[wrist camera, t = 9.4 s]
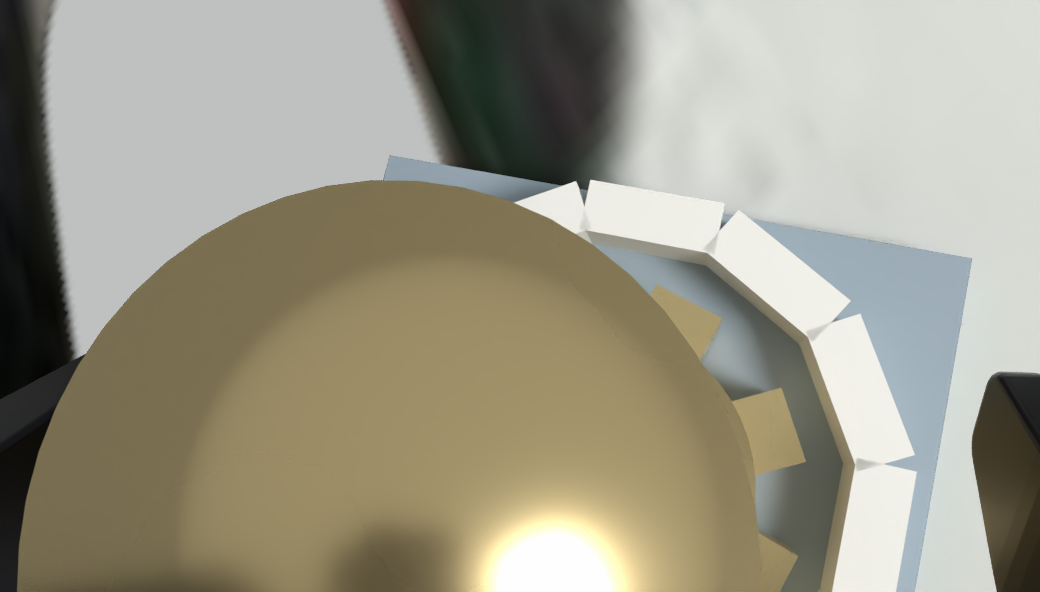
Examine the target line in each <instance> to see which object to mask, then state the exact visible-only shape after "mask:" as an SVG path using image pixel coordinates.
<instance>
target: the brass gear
mask: <svg viewBox="0 0 1040 592" xmlns="http://www.w3.org/2000/svg"><path fill="white" fill-rule="evenodd" d="M721 321H722V318H721V317H719V316H717V315H715V314H713V313H711V312H709V311H707V310H705V309H703V308H701V307H699V306H698V305H696V304H694V303H692V302H690V301H688V300H686V299H684V298H682V297H680V296H678V295H676V294H674V293H672V292H671V291H669V290H667V289H665V288H663V287H661V286H659V285H656V286H655V288H654V290H653V292H652V293H651V295H649V294H648V293H647V292H646V291H645V290H644V289H643V288H642V287H641V285H640V284H639V283H638V282H637V281H636V280H635V279H634V278H633V277H632V276H631V275H630V274H629V273H627V272H626V271H625V270H624V269H622V268H621V267H620V266H619V265H617V264H616V263H615V262H614V261H613V260H611V259H610V258H609V257H608V256H606V255H605V254H604V253H603V252H601V251H600V250H599V249H598V248H596V247H595V246H594V245H593V244H591V243H590V242H588V241H586V240H585V239H583V238H581V237H580V236H578V235H576V234H575V233H573V232H571V231H570V230H568V229H566V228H565V227H563V226H561V225H560V224H558V223H556V222H555V221H553V220H552V219H550V218H547V217H545V216H543V215H541V214H538V213H536V212H534V211H531V210H529V209H527V208H524V207H522V206H520V205H517V204H515V203H513V202H511V201H508V200H506V199H502V198H498V197H495V196H491V195H488V194H484V193H481V192H477V191H474V190H470V189H466V188H463V187H457V186H450V185H443V184H436V183H429V182H421V181H372V180H371V181H364V182H355V183H348V184H339V185H331V186H325V187H321V188H318V189H314V190H310V191H306V192H302V193H298V194H295V195H291V196H287V197H284V198H281V199H278V200H276V201H273V202H271V203H268V204H266V205H263V206H261V207H258V208H256V209H253V210H251V211H248V212H246V213H243V214H241V215H239V216H238V217H236V218H234V219H233V220H230V221H229V222H227V223H225V224H223V225H221V226H220V227H218V228H216V229H214V230H212V231H211V232H209V233H207V234H205V235H204V236H202V237H201V238H199V239H198V240H197V241H195V242H194V243H192V244H191V245H190V246H188V247H187V248H186V249H184V250H183V251H182V252H180V253H179V254H177V255H176V256H175V257H173V258H172V259H170V260H169V261H168V262H166V263H165V264H164V265H163V266H162V267H161V268H160V269H159V270H158V271H157V272H155V273H154V274H153V275H152V276H151V277H150V278H149V279H148V280H147V281H146V282H145V283H144V284H142V285H141V286H140V287H139V288H138V289H137V290H136V291H135V292H134V293H133V294H132V295H131V296H130V298H129V299H128V300H127V301H126V302H125V303H124V304H123V306H122V307H121V308H120V309H119V310H118V312H117V313H116V314H115V315H114V316H113V318H111V320H110V321H109V322H108V323H107V324H106V326H105V327H104V328H103V329H102V331H101V332H100V334H99V335H98V337H97V338H96V340H95V341H94V343H93V344H92V346H91V347H90V349H89V350H88V352H87V353H86V355H85V356H84V357H83V359H82V360H81V362H80V363H79V365H78V366H77V368H76V370H75V372H74V374H73V376H72V378H71V380H70V382H69V384H68V386H67V387H66V389H65V391H64V393H63V395H62V397H61V399H60V401H59V403H58V405H57V407H56V409H55V411H54V414H53V417H52V419H51V422H50V424H49V427H48V429H47V432H46V435H45V437H44V440H43V442H42V445H41V447H40V450H39V453H38V457H37V460H36V464H35V468H34V471H33V475H32V479H31V483H30V486H29V490H28V494H27V498H26V504H25V510H24V517H23V523H22V530H21V536H20V543H19V558H18V582H17V592H780V590H781V588H782V586H783V584H784V583H785V581H786V579H787V577H788V575H789V573H790V571H791V569H792V568H793V566H794V564H795V562H796V560H797V558H798V555H797V554H796V553H794V552H793V551H792V550H791V549H790V548H789V547H788V546H787V545H786V544H784V543H783V542H781V541H779V540H778V539H776V538H774V537H772V536H771V535H769V534H767V533H765V532H764V531H762V530H760V529H759V528H758V525H757V516H756V507H755V487H756V479H755V475H758V474H762V473H766V472H770V471H774V470H778V469H781V468H785V467H789V466H793V465H797V464H800V463H804V462H806V460H805V457H804V454H803V451H802V448H801V445H800V442H799V439H798V436H797V433H796V430H795V427H794V424H793V421H792V418H791V415H790V412H789V409H788V406H787V403H786V400H785V397H784V394H783V391H782V388H778V389H775V390H771V391H767V392H764V393H760V394H756V395H753V396H749V397H745V398H742V399H738V400H735V401H731V399H730V397H729V396H728V395H727V393H726V392H725V390H724V389H723V388H722V386H721V385H720V384H719V382H718V381H717V379H716V378H715V377H714V376H713V375H712V374H711V373H710V372H709V371H708V370H707V369H706V368H705V367H704V366H703V365H702V363H701V362H702V361H703V359H704V357H705V355H706V353H707V352H708V350H709V348H710V346H711V344H712V342H713V341H714V339H715V337H716V335H717V333H718V331H719V328H720V324H721Z"/></svg>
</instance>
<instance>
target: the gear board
mask: <svg viewBox="0 0 1040 592" xmlns="http://www.w3.org/2000/svg"><path fill="white" fill-rule="evenodd" d="M383 181H421V182H429V183H436V184H443V185H450V186H457V187H463V188H466V189H470V190H474V191H477V192H481V193H484V194H488V195H491V196H495V197H498V198H502V199H506V200H508V201H511V202H513V203H515V204H517V205H520V206H522V207H524V208H527V209H529V210H531V211H534V212H536V213H538V214H541V215H543V216H545V217H547V218H550V219H552V220H553V221H555V222H556V223H558V224H560V225H561V226H563V227H565V228H566V229H568V230H570V231H571V232H573V233H575V234H576V235H578V236H580V237H581V238H583V239H585V240H586V241H588V242H590V243H591V244H593V245H594V246H595V247H596V248H598V249H599V250H600V251H601V252H603V253H604V254H605V255H606V256H608V257H609V258H610V259H611V260H613V261H614V262H615V263H616V264H617V265H619V266H620V267H621V268H622V269H624V270H625V271H626V272H627V273H629V274H630V275H631V276H632V277H633V278H634V279H635V280H636V281H637V282H638V283H639V284H640V285H641V287H642V288H643V289H644V290H645V291H646V292H647V293H648V294H649V295H651V293H652V292H653V290H654V288H655V286H656V285H659V286H661V287H663V288H665V289H667V290H669V291H671V292H672V293H674V294H676V295H678V296H680V297H682V298H684V299H686V300H688V301H690V302H692V303H694V304H696V305H698V306H699V307H701V308H703V309H705V310H707V311H709V312H711V313H713V314H715V315H717V316H719V317H721V318H722V321H721V324H720V328H719V331H718V333H717V335H716V337H715V339H714V341H713V342H712V344H711V346H710V348H709V350H708V352H707V353H706V355H705V357H704V359H703V361H702V362H701V363H702V365H703V366H704V367H705V368H706V369H707V370H708V371H709V372H710V373H711V374H712V375H713V376H714V377H715V378H716V379H717V381H718V382H719V384H720V385H721V386H722V388H723V389H724V390H725V392H726V393H727V395H728V396H729V397H730V399H731V401H735V400H738V399H742V398H745V397H749V396H753V395H756V394H760V393H764V392H767V391H771V390H775V389H778V388H782V391H783V394H784V397H785V400H786V403H787V406H788V409H789V412H790V415H791V418H792V421H793V424H794V427H795V430H796V433H797V436H798V439H799V442H800V445H801V448H802V451H803V454H804V457H805V460H806V462H804V463H800V464H797V465H793V466H789V467H785V468H781V469H778V470H774V471H770V472H766V473H762V474H758V475H755V479H756V487H755V507H756V516H757V525H758V528H759V529H760V530H762V531H764V532H765V533H767V534H769V535H771V536H772V537H774V538H776V539H778V540H779V541H781V542H783V543H784V544H786V545H787V546H788V547H789V548H790V549H791V550H792V551H793V552H794V553H796V554H797V555H798V558H797V560H796V562H795V564H794V566H793V568H792V569H791V571H790V573H789V575H788V577H787V579H786V581H785V583H784V584H783V586H782V588H781V590H780V592H915V587H916V582H917V576H918V570H919V564H920V558H921V553H922V547H923V541H924V535H925V529H926V524H927V518H928V512H929V506H930V500H931V495H932V489H933V483H934V477H935V471H936V466H937V460H938V454H939V448H940V442H941V437H942V431H943V425H944V419H945V413H946V408H947V402H948V396H949V390H950V384H951V379H952V373H953V367H954V361H955V355H956V350H957V344H958V338H959V332H960V326H961V321H962V315H963V309H964V303H965V297H966V292H967V286H968V280H969V274H970V268H971V263H972V258H967V257H961V256H955V255H950V254H944V253H938V252H933V251H927V250H921V249H916V248H910V247H904V246H899V245H893V244H888V243H882V242H876V241H871V240H865V239H859V238H854V237H848V236H842V235H837V234H831V233H825V232H820V231H814V230H809V229H803V228H797V227H792V226H786V225H780V224H775V223H769V222H763V221H758V220H752V219H750V218H748V217H747V216H746V215H745V214H744V213H742V212H741V211H740V210H738V211H737V212H736V213H735V214H734V216H729V215H724V214H723V212H724V206H725V203H721V202H715V201H709V200H704V199H698V198H692V197H686V196H681V195H675V194H669V193H663V192H658V191H652V190H646V189H640V188H635V187H629V186H623V185H618V184H612V183H606V182H600V181H595V180H590V185H589V189H588V190H583V189H579V187H578V185H577V182H576V181H575V182H572V183H569V184H566V185H564V186H560V185H555V184H549V183H543V182H538V181H532V180H526V179H521V178H515V177H509V176H504V175H498V174H492V173H487V172H481V171H476V170H470V169H464V168H459V167H453V166H447V165H442V164H436V163H430V162H424V161H419V160H413V159H408V158H402V157H397V156H391V155H390V156H389V160H388V164H387V168H386V171H385V175H384V179H383Z"/></svg>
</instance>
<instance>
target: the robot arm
mask: <svg viewBox="0 0 1040 592" xmlns="http://www.w3.org/2000/svg"><path fill="white" fill-rule="evenodd" d="M85 355H86V354H85ZM85 355H83V356H81V357H79V358H77V359H75V360H73V361H71V362H70V363H68V364H66V365H64V366H62V367H60V368H58V369H56V370H55V371H53V372H51V373H49V374H47V375H45V376H43V377H41V378H40V379H38V380H36V381H34V382H32V383H30V384H28V385H26V386H25V387H23V388H21V389H19V390H17V391H15V392H13V393H11V394H9V395H8V396H6V397H4V398H2V399H0V592H17V582H18V558H19V543H20V536H21V530H22V523H23V517H24V510H25V504H26V498H27V494H28V490H29V486H30V483H31V479H32V475H33V471H34V468H35V464H36V460H37V457H38V453H39V450H40V447H41V445H42V442H43V440H44V437H45V435H46V432H47V429H48V427H49V424H50V422H51V419H52V417H53V414H54V411H55V409H56V407H57V405H58V403H59V401H60V399H61V397H62V395H63V393H64V391H65V389H66V387H67V386H68V384H69V382H70V380H71V378H72V376H73V374H74V372H75V370H76V368H77V366H78V365H79V363H80V362H81V360H82V359H83V357H84V356H85ZM972 458H973V464H974V469H975V475H976V480H977V486H978V491H979V497H980V503H981V508H982V514H983V519H984V525H985V530H986V536H987V542H988V547H989V553H990V558H991V564H992V569H993V575H994V580H995V585H996V590H997V592H1040V374H1037V373H1024V372H997V373H995V374H994V375H992V376H991V378H990V379H989V381H988V383H987V385H986V389H985V392H984V396H983V399H982V403H981V406H980V410H979V413H978V417H977V420H976V424H975V428H974V431H973V436H972Z"/></svg>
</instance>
